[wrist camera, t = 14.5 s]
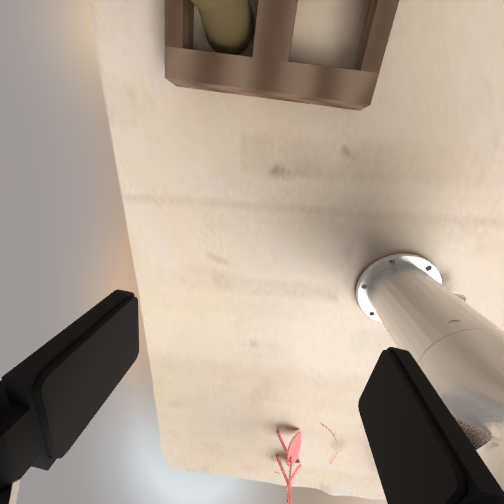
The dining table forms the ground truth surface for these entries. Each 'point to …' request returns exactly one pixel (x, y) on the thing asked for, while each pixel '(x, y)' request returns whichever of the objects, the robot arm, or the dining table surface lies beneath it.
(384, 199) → the dining table surface
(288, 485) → the figurine
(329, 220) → the dining table surface
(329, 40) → the dining table surface
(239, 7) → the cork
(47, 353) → the robot arm
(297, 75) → the socket board
